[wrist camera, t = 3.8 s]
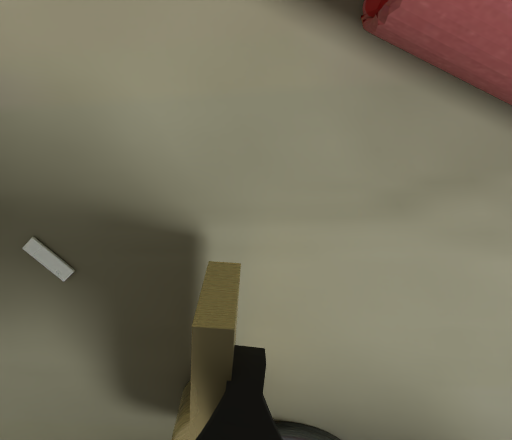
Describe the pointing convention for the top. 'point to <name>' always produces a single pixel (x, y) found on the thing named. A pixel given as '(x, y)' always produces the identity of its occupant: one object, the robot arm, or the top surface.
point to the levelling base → (294, 435)
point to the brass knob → (210, 349)
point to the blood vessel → (451, 37)
